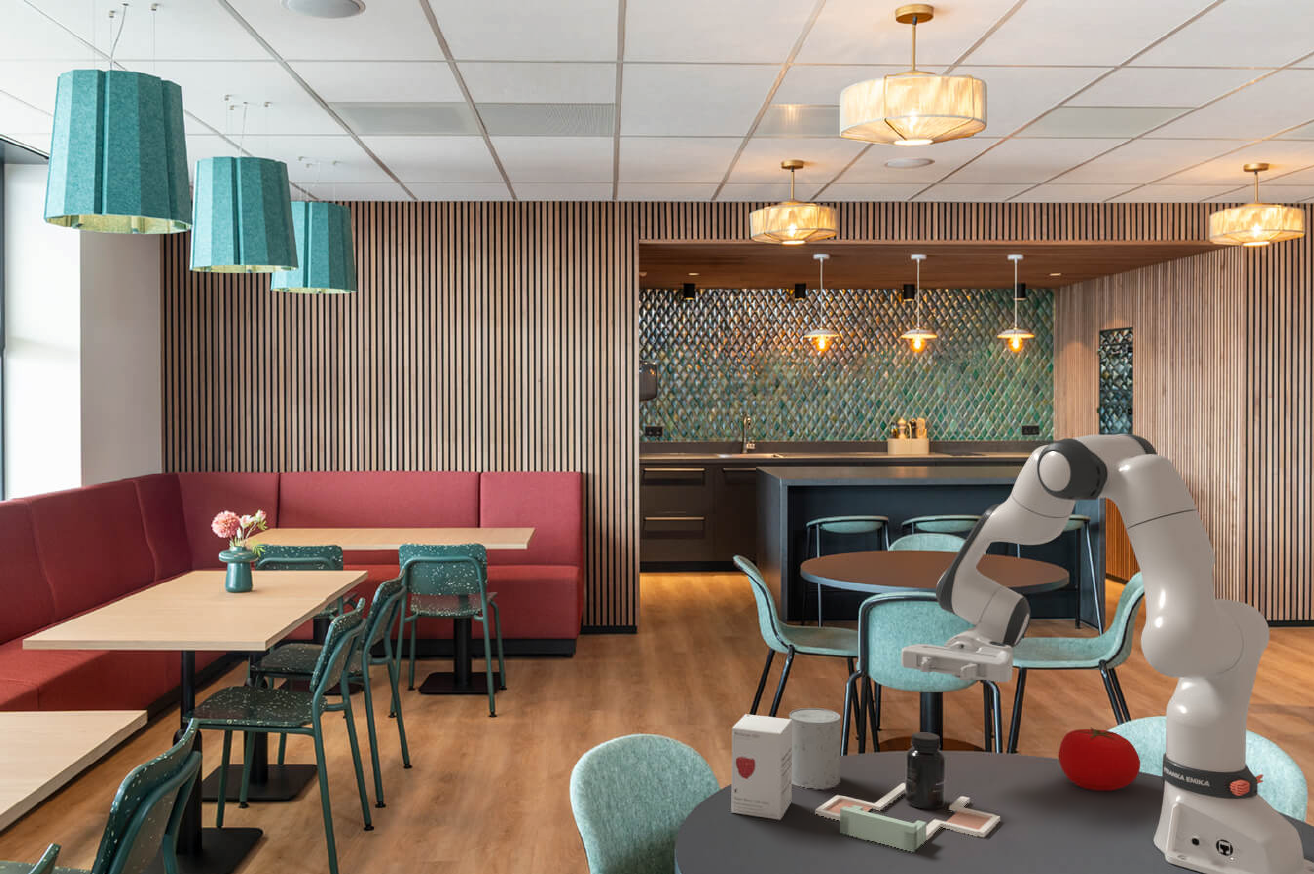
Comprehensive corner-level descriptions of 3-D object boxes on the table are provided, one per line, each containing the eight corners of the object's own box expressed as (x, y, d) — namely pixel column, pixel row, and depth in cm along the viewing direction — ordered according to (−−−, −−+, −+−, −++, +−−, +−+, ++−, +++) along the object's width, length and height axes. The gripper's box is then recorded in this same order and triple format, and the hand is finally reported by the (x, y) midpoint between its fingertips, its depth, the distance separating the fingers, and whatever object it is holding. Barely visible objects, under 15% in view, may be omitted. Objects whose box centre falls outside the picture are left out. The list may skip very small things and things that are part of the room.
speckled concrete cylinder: (810, 768, 196) (810, 705, 196) (850, 781, 189) (851, 715, 189) (778, 779, 189) (778, 714, 189) (818, 793, 182) (819, 726, 182)
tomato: (1041, 778, 190) (1042, 724, 190) (1089, 768, 196) (1089, 715, 196) (1105, 804, 177) (1106, 745, 177) (1154, 792, 183) (1155, 735, 183)
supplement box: (729, 813, 173) (729, 726, 173) (743, 795, 181) (743, 712, 181) (781, 821, 170) (781, 732, 169) (793, 802, 178) (793, 718, 178)
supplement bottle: (946, 812, 174) (947, 743, 173) (906, 808, 175) (906, 740, 175) (943, 797, 180) (944, 731, 180) (904, 794, 182) (904, 728, 182)
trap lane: (867, 779, 190) (867, 758, 189) (1009, 811, 174) (1009, 788, 174) (801, 823, 169) (802, 799, 169) (957, 864, 153) (957, 838, 153)
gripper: (916, 633, 201) (888, 645, 190) (1020, 647, 189) (997, 661, 177) (915, 664, 201) (887, 679, 190) (1020, 680, 189) (996, 696, 178)
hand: (941, 670), depth 183 cm, fingers open, 5 cm apart
